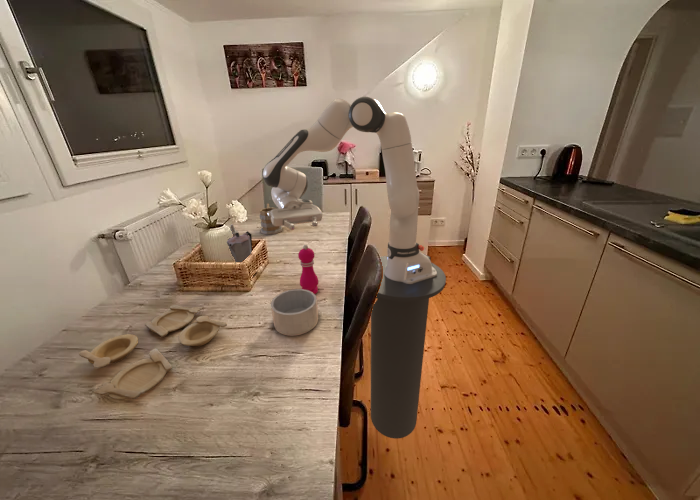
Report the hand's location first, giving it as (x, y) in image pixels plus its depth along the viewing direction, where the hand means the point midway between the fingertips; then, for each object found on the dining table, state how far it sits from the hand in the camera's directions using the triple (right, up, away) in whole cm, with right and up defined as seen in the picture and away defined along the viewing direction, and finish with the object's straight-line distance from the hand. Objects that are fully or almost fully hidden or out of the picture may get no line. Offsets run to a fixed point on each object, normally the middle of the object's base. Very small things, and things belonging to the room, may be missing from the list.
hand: (304, 226), depth 105 cm
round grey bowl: (-1, -33, -11) cm, 34 cm away
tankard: (-33, +5, +76) cm, 83 cm away
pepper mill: (+1, -25, +6) cm, 26 cm away
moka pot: (-29, -20, +21) cm, 41 cm away
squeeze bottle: (-39, -13, +36) cm, 55 cm away
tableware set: (-40, -38, -21) cm, 59 cm away
